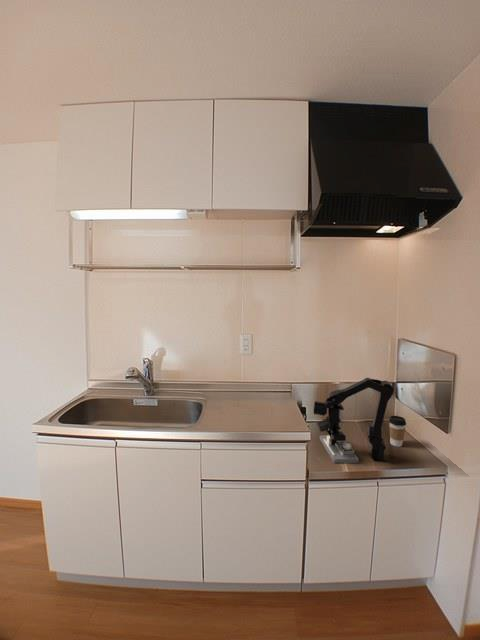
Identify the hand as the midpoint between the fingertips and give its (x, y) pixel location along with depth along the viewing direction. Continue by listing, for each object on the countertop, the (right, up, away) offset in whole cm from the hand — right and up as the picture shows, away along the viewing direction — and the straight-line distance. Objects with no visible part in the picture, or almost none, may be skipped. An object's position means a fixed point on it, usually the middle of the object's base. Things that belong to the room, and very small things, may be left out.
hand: (332, 444), depth 158 cm
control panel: (+3, -3, +1) cm, 5 cm away
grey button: (+6, 0, -4) cm, 7 cm away
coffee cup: (+37, -3, +8) cm, 38 cm away
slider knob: (0, -1, +4) cm, 4 cm away
